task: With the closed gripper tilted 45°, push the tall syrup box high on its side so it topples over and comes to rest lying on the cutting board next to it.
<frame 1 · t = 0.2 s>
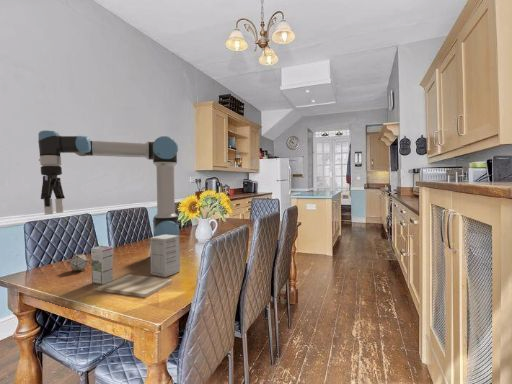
hand: (54, 213, 123), 27 cm above the table, tool pointing down, fingers open, 13 cm apart
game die: (79, 271, 129), on the table
supplement box: (165, 273, 126), on the table
syrup box: (102, 282, 114), on the table
cutting board: (136, 286, 109), on the table
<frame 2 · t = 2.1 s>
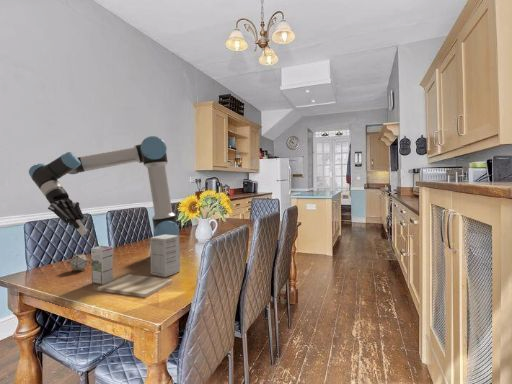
hand: (84, 233, 116), 20 cm above the table, tool tilted 45°, fingers closed
nothing on the table moved.
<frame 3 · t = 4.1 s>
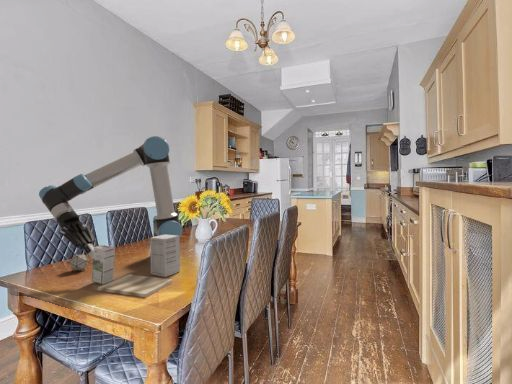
hand: (96, 257, 114), 10 cm above the table, tool tilted 45°, fingers closed
syrup box: (102, 281, 114), on the table, touching gripper
everything else where it was.
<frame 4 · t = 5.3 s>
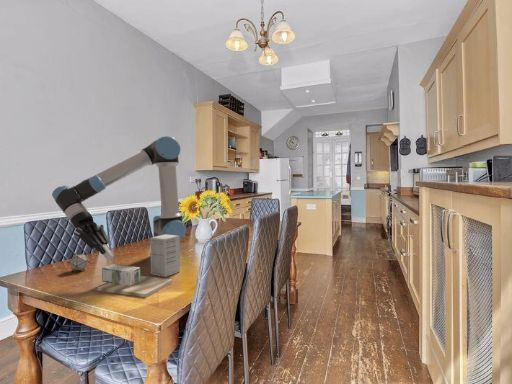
hand: (111, 258, 112), 10 cm above the table, tool tilted 45°, fingers closed
syrup box: (106, 272, 113), point 4 cm above the table, touching cutting board
everything else where it was.
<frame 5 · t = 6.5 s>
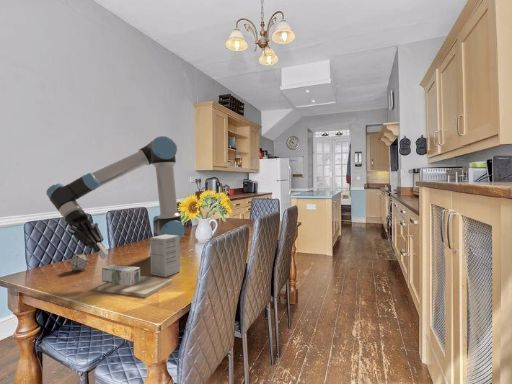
hand: (105, 256, 113), 11 cm above the table, tool tilted 45°, fingers closed
nothing on the table moved.
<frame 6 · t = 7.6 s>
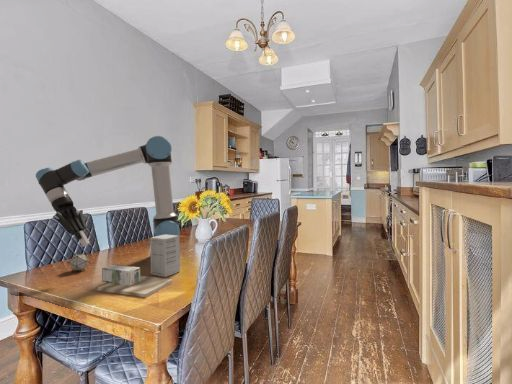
hand: (86, 244, 119), 14 cm above the table, tool tilted 35°, fingers closed
nothing on the table moved.
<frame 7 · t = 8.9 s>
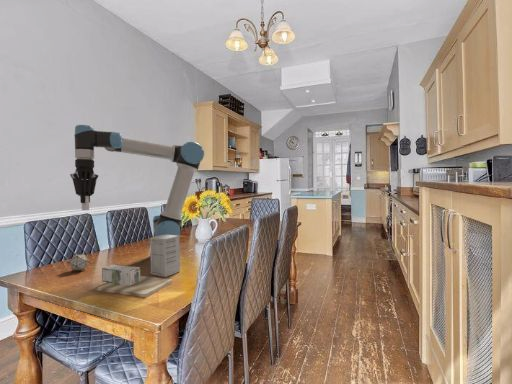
hand: (85, 209, 128), 28 cm above the table, tool pointing down, fingers closed
nothing on the table moved.
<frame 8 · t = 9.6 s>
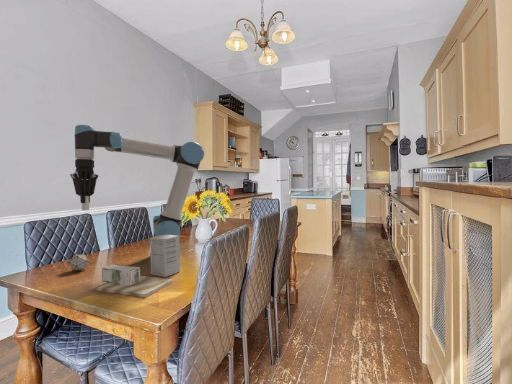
hand: (85, 209, 128), 28 cm above the table, tool pointing down, fingers closed
nothing on the table moved.
at the end: syrup box tilted 90°; syrup box touching cutting board; the gripper is holding nothing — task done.
